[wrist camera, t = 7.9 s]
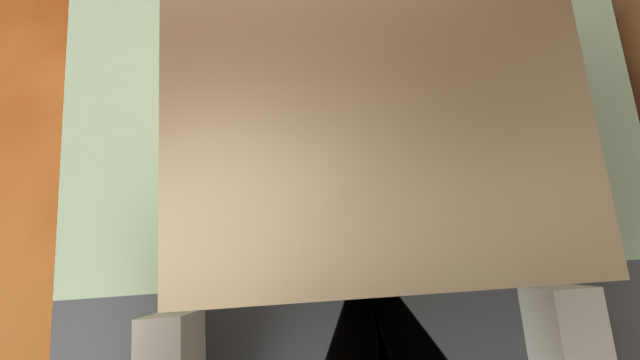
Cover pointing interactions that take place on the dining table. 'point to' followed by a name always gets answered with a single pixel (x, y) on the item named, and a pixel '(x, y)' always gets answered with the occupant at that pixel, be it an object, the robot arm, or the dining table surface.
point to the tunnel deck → (300, 318)
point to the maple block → (376, 151)
